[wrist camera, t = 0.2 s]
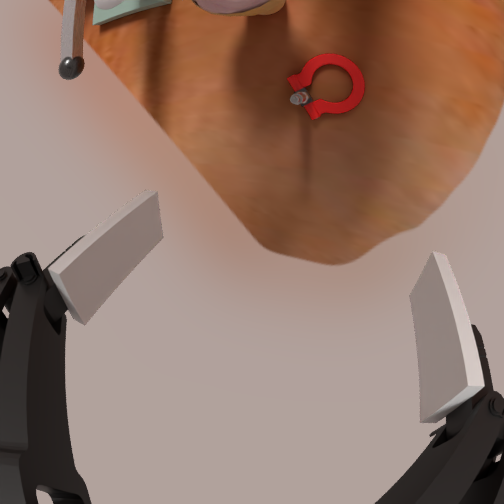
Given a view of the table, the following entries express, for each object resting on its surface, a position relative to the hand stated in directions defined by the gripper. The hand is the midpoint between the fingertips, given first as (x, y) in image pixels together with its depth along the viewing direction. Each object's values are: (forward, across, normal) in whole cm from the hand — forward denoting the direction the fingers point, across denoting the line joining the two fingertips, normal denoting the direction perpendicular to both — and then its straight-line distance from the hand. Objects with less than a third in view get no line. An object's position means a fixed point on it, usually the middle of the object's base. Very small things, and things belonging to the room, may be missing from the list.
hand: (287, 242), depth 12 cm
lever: (+13, -27, +16) cm, 34 cm away
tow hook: (+28, 0, +7) cm, 29 cm away
